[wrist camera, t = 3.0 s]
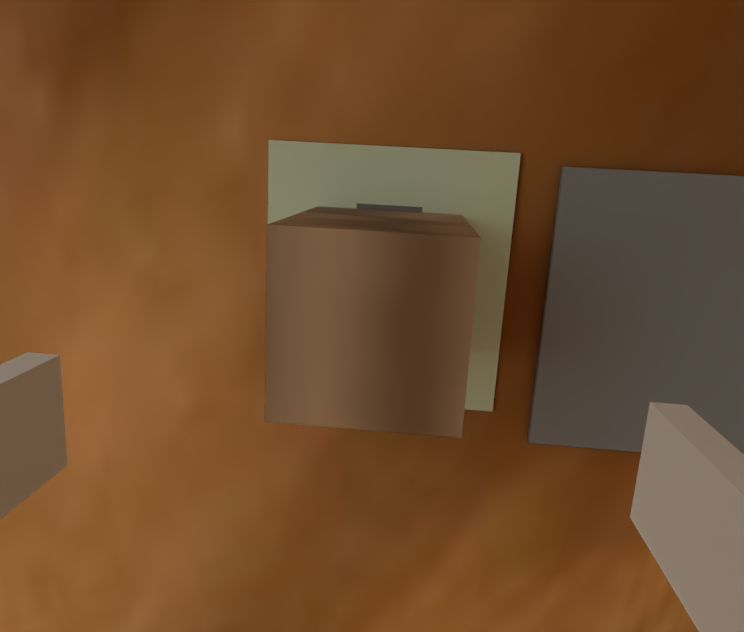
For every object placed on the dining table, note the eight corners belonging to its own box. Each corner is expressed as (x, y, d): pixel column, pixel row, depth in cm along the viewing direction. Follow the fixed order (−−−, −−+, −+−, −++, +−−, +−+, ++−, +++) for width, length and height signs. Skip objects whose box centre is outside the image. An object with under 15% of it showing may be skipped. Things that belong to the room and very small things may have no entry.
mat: (527, 439, 32) (528, 442, 31) (561, 166, 28) (563, 166, 28) (763, 459, 31) (767, 463, 30) (828, 180, 28) (833, 180, 27)
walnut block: (313, 342, 31) (264, 421, 21) (317, 206, 29) (267, 224, 20) (449, 353, 31) (461, 438, 21) (461, 214, 29) (481, 237, 19)
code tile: (266, 391, 32) (265, 393, 32) (269, 140, 29) (268, 139, 29) (492, 409, 31) (492, 411, 31) (520, 153, 28) (520, 153, 28)
